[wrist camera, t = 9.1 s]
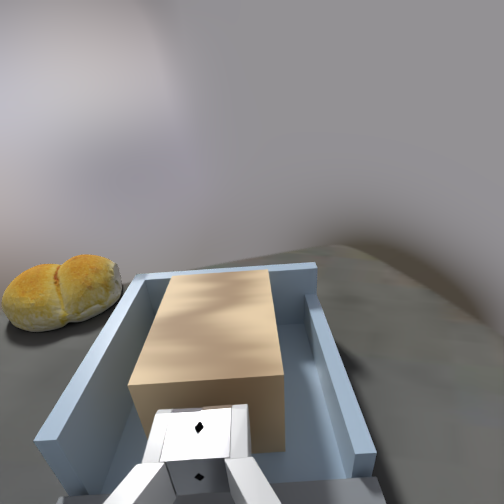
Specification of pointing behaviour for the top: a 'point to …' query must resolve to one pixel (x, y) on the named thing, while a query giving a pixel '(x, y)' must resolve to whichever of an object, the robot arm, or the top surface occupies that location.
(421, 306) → the top surface
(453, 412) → the top surface
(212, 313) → the oak block
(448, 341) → the top surface
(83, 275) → the bread roll
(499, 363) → the top surface
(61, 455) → the tray
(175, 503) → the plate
